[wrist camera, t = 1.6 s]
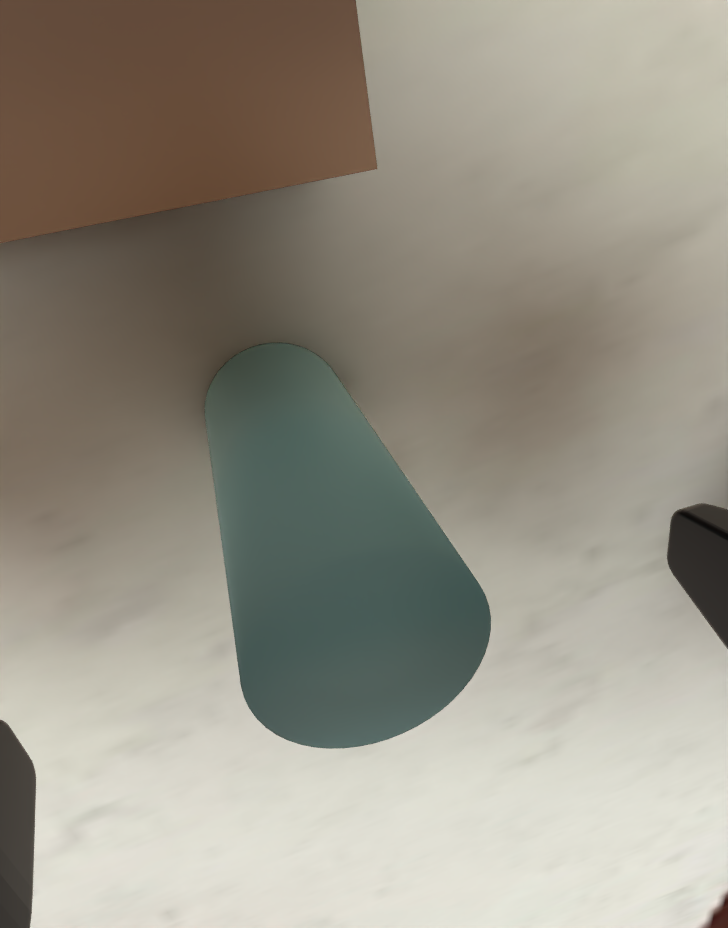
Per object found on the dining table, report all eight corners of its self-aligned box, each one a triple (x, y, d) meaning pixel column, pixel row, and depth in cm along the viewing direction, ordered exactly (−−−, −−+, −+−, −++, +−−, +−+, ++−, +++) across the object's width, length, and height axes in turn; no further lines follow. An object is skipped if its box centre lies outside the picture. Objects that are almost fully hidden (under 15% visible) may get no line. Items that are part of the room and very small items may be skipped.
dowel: (353, 452, 16) (496, 701, 9) (225, 487, 15) (273, 779, 8) (330, 328, 14) (483, 515, 7) (186, 362, 14) (207, 596, 7)
